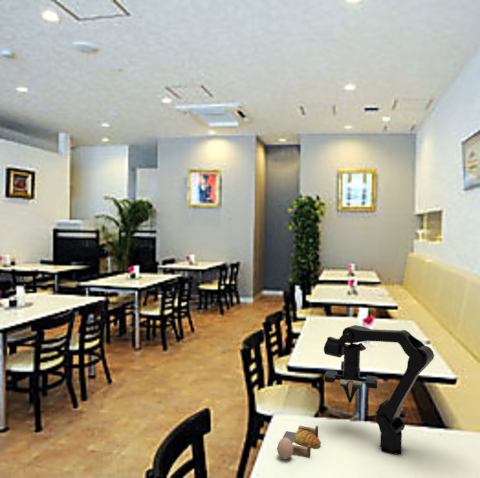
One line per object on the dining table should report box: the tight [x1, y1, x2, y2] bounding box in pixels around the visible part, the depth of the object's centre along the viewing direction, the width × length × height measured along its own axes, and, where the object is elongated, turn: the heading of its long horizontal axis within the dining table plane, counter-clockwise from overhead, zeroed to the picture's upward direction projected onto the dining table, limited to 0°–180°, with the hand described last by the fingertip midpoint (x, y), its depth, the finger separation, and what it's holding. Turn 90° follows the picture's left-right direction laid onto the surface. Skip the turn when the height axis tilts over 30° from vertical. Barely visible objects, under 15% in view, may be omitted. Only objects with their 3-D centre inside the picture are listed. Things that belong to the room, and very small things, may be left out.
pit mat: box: [282, 430, 296, 444], centre depth 163 cm, size 4×14×1 cm, turn 161°
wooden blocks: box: [292, 425, 319, 458], centre depth 161 cm, size 7×17×4 cm, turn 161°
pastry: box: [294, 429, 322, 449], centre depth 162 cm, size 9×7×4 cm
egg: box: [276, 437, 294, 460], centre depth 151 cm, size 5×5×7 cm
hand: (350, 402), depth 169 cm, fingers closed
